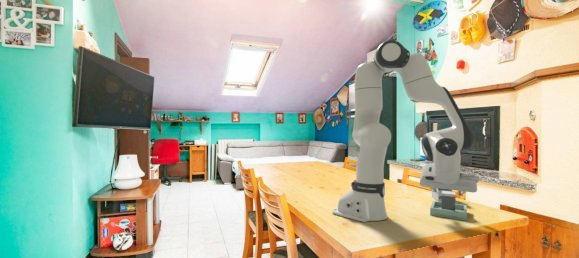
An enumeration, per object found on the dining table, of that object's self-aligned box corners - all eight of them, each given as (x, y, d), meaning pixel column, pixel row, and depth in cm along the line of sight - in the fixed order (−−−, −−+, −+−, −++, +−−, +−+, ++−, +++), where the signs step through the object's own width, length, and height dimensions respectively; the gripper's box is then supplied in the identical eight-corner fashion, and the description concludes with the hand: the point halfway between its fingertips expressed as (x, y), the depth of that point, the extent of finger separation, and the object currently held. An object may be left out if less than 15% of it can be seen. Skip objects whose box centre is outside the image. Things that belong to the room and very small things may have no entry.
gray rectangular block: (441, 211, 117) (441, 193, 117) (442, 208, 121) (442, 190, 121) (455, 213, 114) (455, 194, 114) (455, 210, 119) (455, 192, 119)
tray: (430, 214, 116) (430, 207, 116) (432, 207, 127) (432, 200, 127) (466, 220, 109) (466, 213, 109) (466, 212, 120) (466, 205, 120)
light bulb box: (452, 202, 134) (452, 180, 134) (437, 202, 136) (438, 180, 136) (444, 197, 145) (445, 176, 145) (431, 196, 146) (431, 176, 146)
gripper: (479, 168, 103) (477, 189, 112) (419, 163, 114) (421, 183, 123) (479, 182, 100) (477, 203, 108) (417, 176, 110) (420, 195, 119)
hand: (447, 192), depth 115 cm, fingers open, 8 cm apart
